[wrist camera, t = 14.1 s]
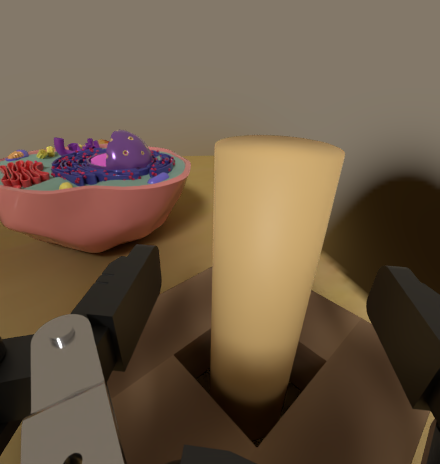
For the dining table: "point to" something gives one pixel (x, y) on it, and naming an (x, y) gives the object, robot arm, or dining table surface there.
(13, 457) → the dining table surface
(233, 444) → the hole block
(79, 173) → the cell model
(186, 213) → the dining table surface
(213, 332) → the peg
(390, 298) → the robot arm
